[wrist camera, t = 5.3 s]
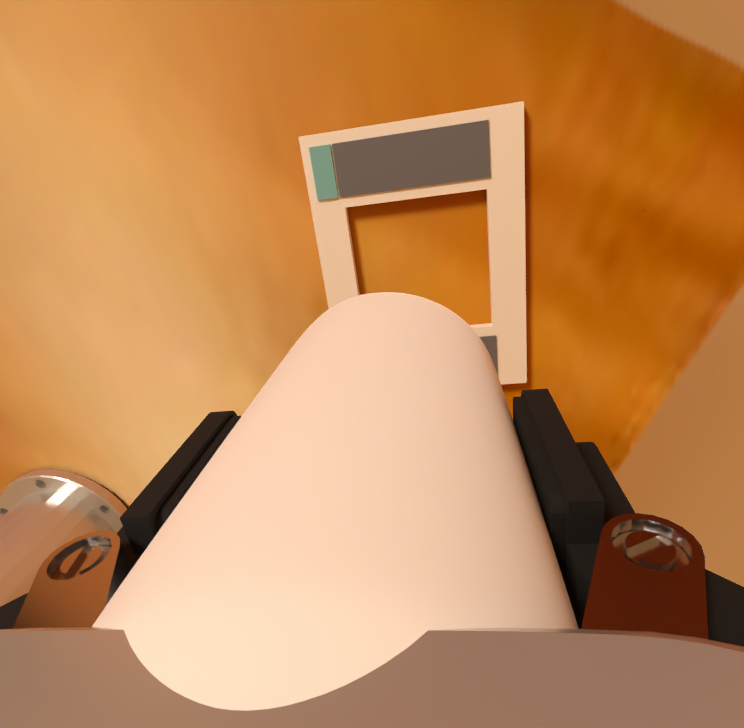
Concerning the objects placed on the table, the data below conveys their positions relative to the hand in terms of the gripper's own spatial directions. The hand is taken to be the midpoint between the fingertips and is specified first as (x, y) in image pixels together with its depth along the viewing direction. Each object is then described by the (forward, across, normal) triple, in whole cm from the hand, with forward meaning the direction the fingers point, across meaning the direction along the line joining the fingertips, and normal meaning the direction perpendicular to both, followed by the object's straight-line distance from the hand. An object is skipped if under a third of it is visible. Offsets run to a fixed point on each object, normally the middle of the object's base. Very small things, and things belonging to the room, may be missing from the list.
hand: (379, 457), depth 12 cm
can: (+4, 0, 0) cm, 4 cm away
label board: (+20, -1, 0) cm, 20 cm away
